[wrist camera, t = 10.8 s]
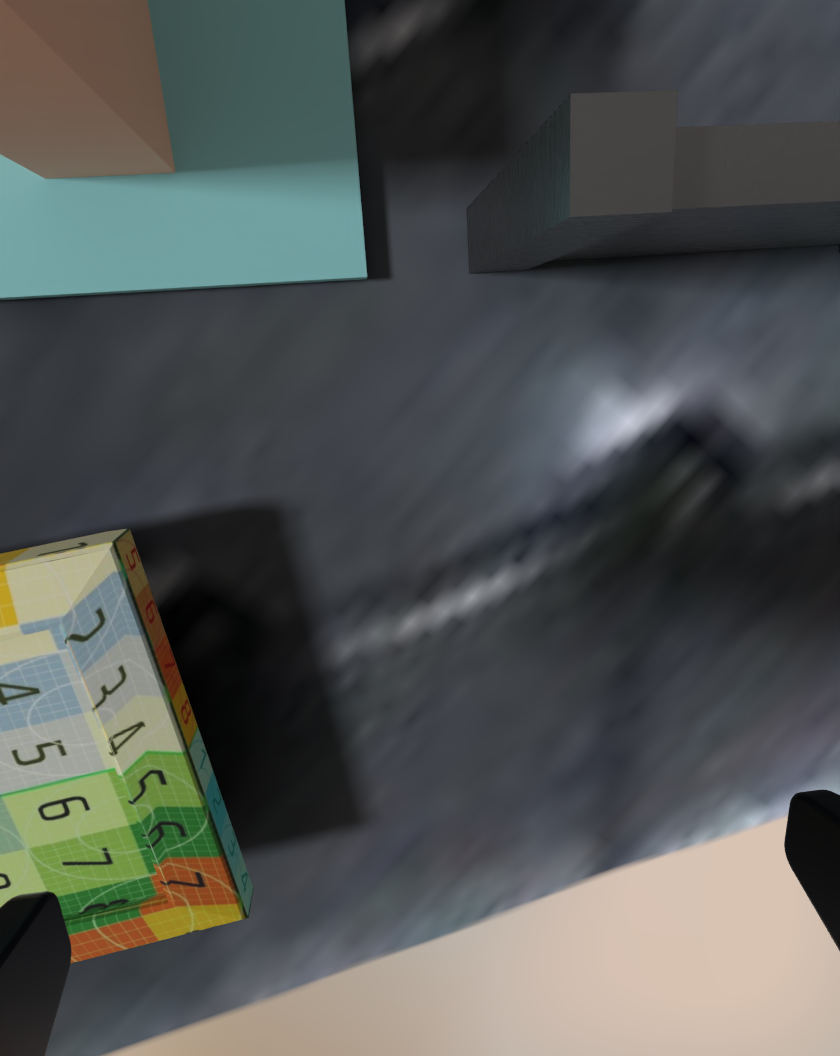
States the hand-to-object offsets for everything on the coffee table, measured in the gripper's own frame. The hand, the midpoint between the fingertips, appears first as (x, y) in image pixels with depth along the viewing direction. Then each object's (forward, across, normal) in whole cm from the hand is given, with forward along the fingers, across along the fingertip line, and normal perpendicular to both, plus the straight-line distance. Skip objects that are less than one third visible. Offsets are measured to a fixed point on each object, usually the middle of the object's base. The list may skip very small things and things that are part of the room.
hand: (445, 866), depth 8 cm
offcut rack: (+12, -9, -9) cm, 17 cm away
